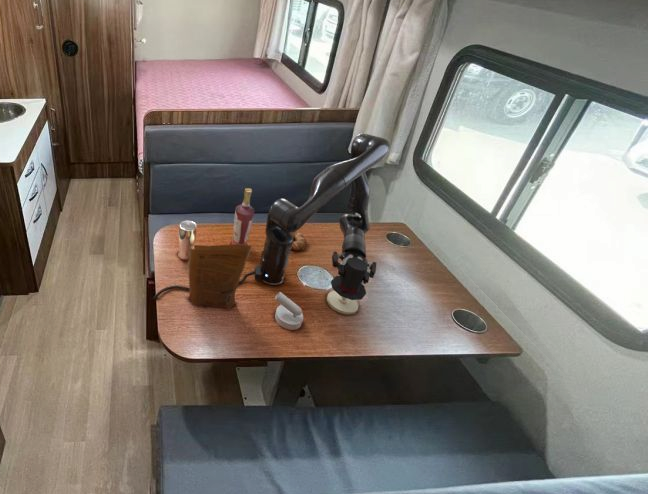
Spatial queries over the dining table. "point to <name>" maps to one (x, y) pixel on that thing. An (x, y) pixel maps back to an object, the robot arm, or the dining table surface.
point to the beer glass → (186, 238)
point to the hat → (351, 280)
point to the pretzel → (298, 241)
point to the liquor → (243, 220)
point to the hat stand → (342, 303)
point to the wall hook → (288, 313)
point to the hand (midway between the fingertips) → (353, 278)
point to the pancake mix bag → (216, 274)
